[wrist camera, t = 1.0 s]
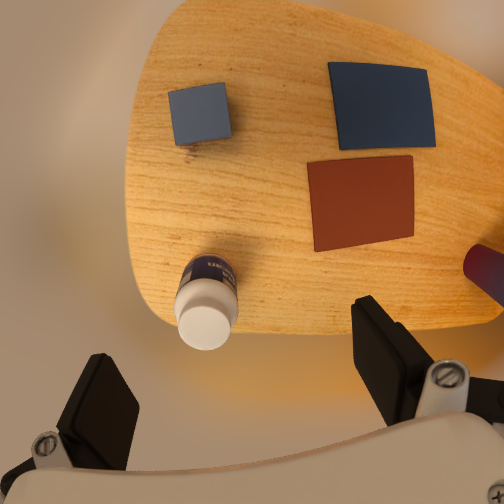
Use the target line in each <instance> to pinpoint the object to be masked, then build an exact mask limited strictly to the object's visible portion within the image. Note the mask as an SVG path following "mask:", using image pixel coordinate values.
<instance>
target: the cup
mask: <svg viewBox="0 0 504 504" xmlns="http://www.w3.org/2000/svg"><path fill="white" fill-rule="evenodd" d="M463 270H464V274H465V276H466V277H467V278H469V279H470V280H471V281H472V282H474V283H475V284H476V285H477V286H479V287H480V288H481V289H482V290H483V291H485V292H486V293H487V294H488V295H489V296H491V297H492V298H493V299H494V300H495V301H497V302H498V303H499V304H500V305H501V306H502V307H503V308H504V254H502V253H500V252H497V251H495V250H493V249H490V248H488V247H485V246H483V245H480V244H478V245H475V246H474V247H472V248H471V249H470V250H469V252H468V253H467V255H466V258H465V261H464V266H463Z"/></svg>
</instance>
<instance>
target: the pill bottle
mask: <svg viewBox="0 0 504 504" xmlns="http://www.w3.org/2000/svg"><path fill="white" fill-rule="evenodd" d="M174 314H175V318H176V320H177V322H178V331H179V334H180V336H181V338H182V339H183V341H184V342H186V343H187V344H188V345H189V346H191V347H193V348H196V349H199V350H211V349H215V348H218V347H220V346H221V345H223V344H224V343H225V342H226V341H227V339H228V338H229V335H230V332H231V328H232V326H233V325H234V324H235V322H236V319H237V316H238V299H237V287H236V276H235V272H234V269H233V267H232V266H231V264H230V263H229V262H228V261H227V260H226V259H224V258H223V257H221V256H219V255H215V254H202V255H199V256H196V257H195V258H193V259H192V260H191V261H190V262H189V263H188V264H187V266H186V267H185V269H184V272H183V275H182V278H181V281H180V285H179V288H178V291H177V294H176V298H175V302H174Z"/></svg>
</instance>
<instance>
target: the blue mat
mask: <svg viewBox="0 0 504 504" xmlns="http://www.w3.org/2000/svg"><path fill="white" fill-rule="evenodd" d="M328 69H329V75H330V81H331V87H332V94H333V101H334V108H335V115H336V123H337V131H338V140H339V149H340V150H347V149H364V148H388V147H436V140H435V128H434V118H433V109H432V102H431V94H430V88H429V81H428V76H427V70H424V69H417V68H410V67H402V66H393V65H382V64H369V63H351V62H328Z"/></svg>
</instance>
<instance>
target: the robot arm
mask: <svg viewBox="0 0 504 504" xmlns="http://www.w3.org/2000/svg"><path fill="white" fill-rule="evenodd" d="M351 315H352V333H353V356H354V364H355V366H356V369H357V370H358V372H359V374H360V376H361V378H362V380H363V381H364V383H365V385H366V387H367V389H368V391H369V392H370V394H371V396H372V398H373V400H374V402H375V404H376V406H377V407H378V409H379V411H380V413H381V415H382V417H383V419H384V421H385V423H386V424H387V426H388V427H386V428H383V429H380V430H377V431H374V432H371V433H368V434H365V435H362V436H359V437H356V438H352V439H349V440H346V441H342V442H339V443H336V444H332V445H328V446H325V447H321V448H317V449H314V450H310V451H306V452H301V453H298V454H293V455H288V456H284V457H279V458H274V459H269V460H263V461H257V462H251V463H245V464H238V465H230V466H223V467H214V468H204V469H191V470H172V471H126V466H127V461H128V457H129V452H130V448H131V443H132V439H133V435H134V430H135V426H136V422H137V418H138V414H139V403H138V401H137V400H136V398H135V397H134V395H133V393H132V392H131V390H130V389H129V387H128V385H127V384H126V382H125V380H124V379H123V377H122V375H121V373H120V372H119V370H118V368H117V366H116V365H115V363H114V361H113V360H112V358H111V357H110V356H108V355H107V354H105V353H101V354H94V355H91V357H90V359H89V360H88V362H87V364H86V366H85V368H84V370H83V372H82V374H81V376H80V378H79V380H78V382H77V384H76V386H75V388H74V390H73V392H72V394H71V396H70V398H69V400H68V402H67V404H66V406H65V408H64V410H63V412H62V415H61V417H60V419H59V421H58V423H57V426H56V427H57V428H58V430H59V433H58V434H57V433H55V432H52V431H49V432H45V433H42V434H41V435H39V436H38V437H37V438H36V439H35V440H34V442H33V444H32V448H31V450H32V456H33V457H31V458H30V459H28V460H26V461H25V462H23V463H22V464H20V465H19V466H17V467H15V468H14V469H12V470H10V471H9V472H7V473H6V474H5V475H4V476H3V477H2V480H1V484H0V489H1V492H0V504H504V381H498V380H490V379H482V378H476V377H470V374H469V370H468V368H467V366H465V365H464V364H463V363H462V362H460V361H458V360H454V359H442V360H439V361H437V362H434V360H433V359H432V358H431V357H430V356H429V355H428V353H427V352H426V351H425V350H424V349H423V348H422V346H421V345H420V344H419V343H418V342H417V341H416V339H415V338H414V337H413V336H412V335H411V334H410V333H409V332H408V330H407V329H406V328H405V327H404V326H403V325H402V324H401V323H400V322H396V323H395V322H394V321H393V320H392V319H391V317H390V316H389V315H388V314H387V313H386V312H385V311H384V310H383V308H382V307H381V306H380V305H379V304H378V303H377V302H376V301H375V299H374V298H373V297H372V296H371V295H368V296H365V297H362V298H358V299H356V300H355V304H352V305H351Z"/></svg>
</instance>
